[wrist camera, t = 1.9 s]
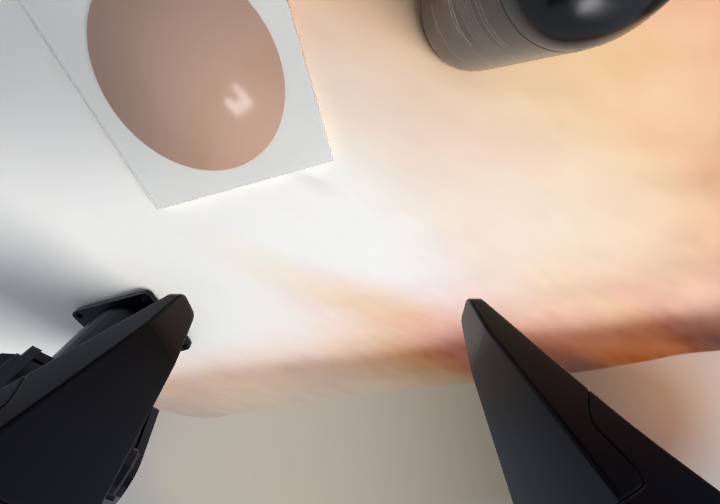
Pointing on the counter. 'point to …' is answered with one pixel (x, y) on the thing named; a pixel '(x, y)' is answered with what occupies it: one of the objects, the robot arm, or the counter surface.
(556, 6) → the supplement bottle
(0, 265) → the counter surface
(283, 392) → the counter surface
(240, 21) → the plate
